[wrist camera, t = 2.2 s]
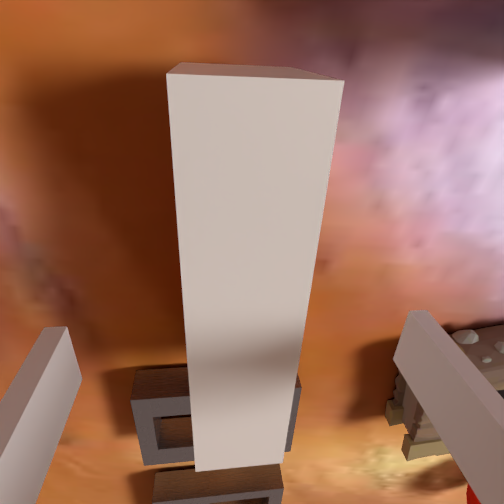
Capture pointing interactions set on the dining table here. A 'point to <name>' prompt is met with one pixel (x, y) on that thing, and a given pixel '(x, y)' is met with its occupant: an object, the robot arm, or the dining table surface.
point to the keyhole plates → (182, 449)
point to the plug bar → (247, 244)
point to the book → (411, 412)
